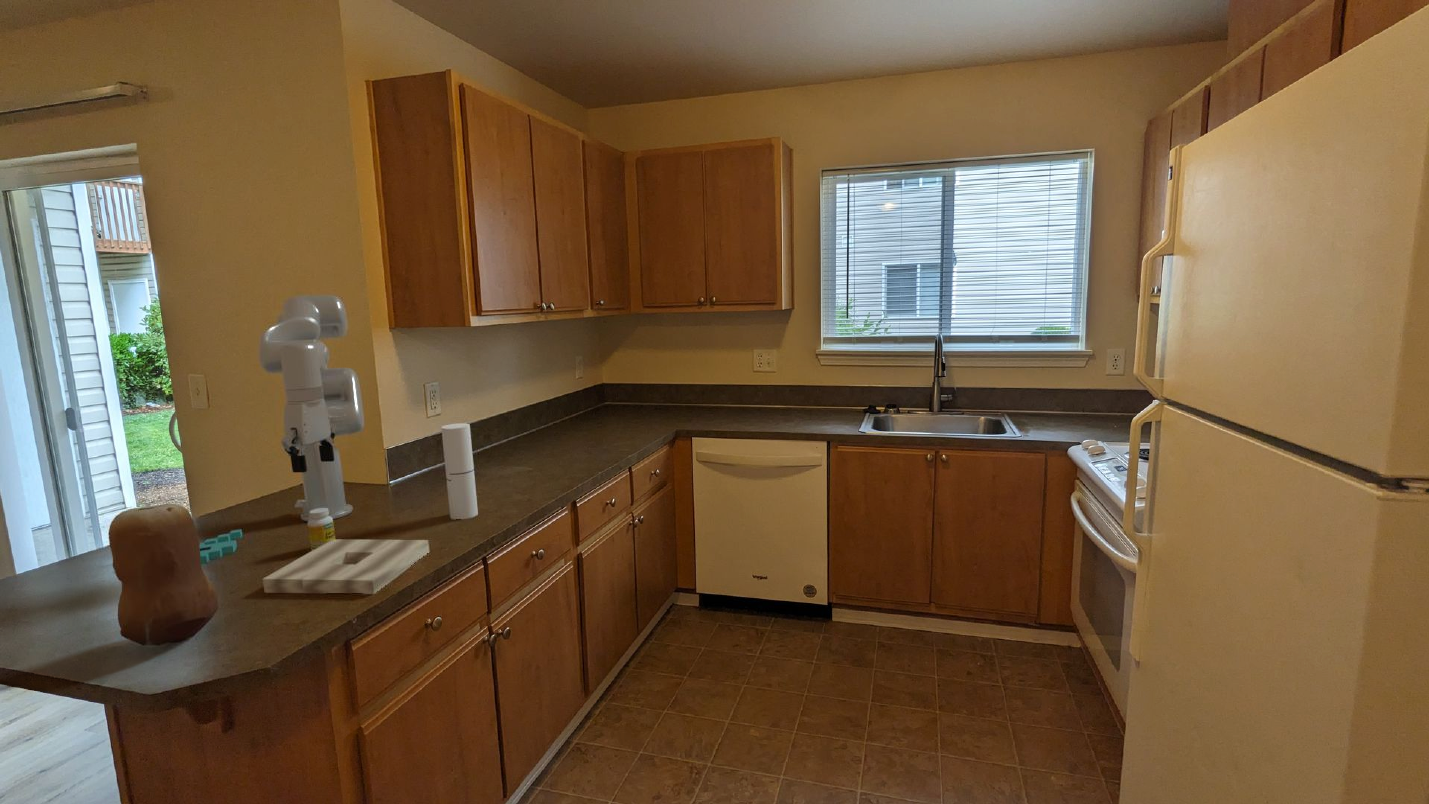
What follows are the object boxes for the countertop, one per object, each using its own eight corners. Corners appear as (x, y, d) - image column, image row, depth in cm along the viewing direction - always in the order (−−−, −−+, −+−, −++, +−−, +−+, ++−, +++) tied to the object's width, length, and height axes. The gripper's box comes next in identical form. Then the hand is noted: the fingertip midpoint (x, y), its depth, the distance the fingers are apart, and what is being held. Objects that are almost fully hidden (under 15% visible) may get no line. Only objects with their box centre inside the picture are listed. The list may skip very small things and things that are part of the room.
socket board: (264, 592, 138) (262, 578, 138) (333, 551, 160) (332, 539, 159) (374, 594, 136) (372, 580, 136) (429, 552, 158) (428, 540, 157)
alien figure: (144, 553, 164) (118, 583, 146) (142, 544, 164) (116, 573, 146) (242, 537, 173) (229, 564, 155) (241, 529, 173) (227, 555, 155)
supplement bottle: (318, 544, 165) (313, 507, 163) (340, 543, 165) (336, 506, 163) (306, 552, 160) (301, 514, 158) (329, 551, 160) (324, 513, 158)
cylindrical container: (468, 520, 179) (460, 428, 175) (444, 519, 181) (435, 428, 177) (483, 511, 186) (474, 423, 182) (459, 510, 188) (451, 423, 184)
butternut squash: (186, 617, 128) (165, 492, 124) (239, 625, 125) (218, 496, 120) (103, 655, 115) (76, 516, 111) (159, 665, 112) (133, 522, 107)
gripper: (314, 390, 165) (323, 457, 168) (262, 402, 148) (272, 476, 151) (343, 389, 164) (351, 457, 167) (293, 401, 147) (304, 476, 150)
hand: (314, 466), depth 159 cm, fingers open, 9 cm apart
